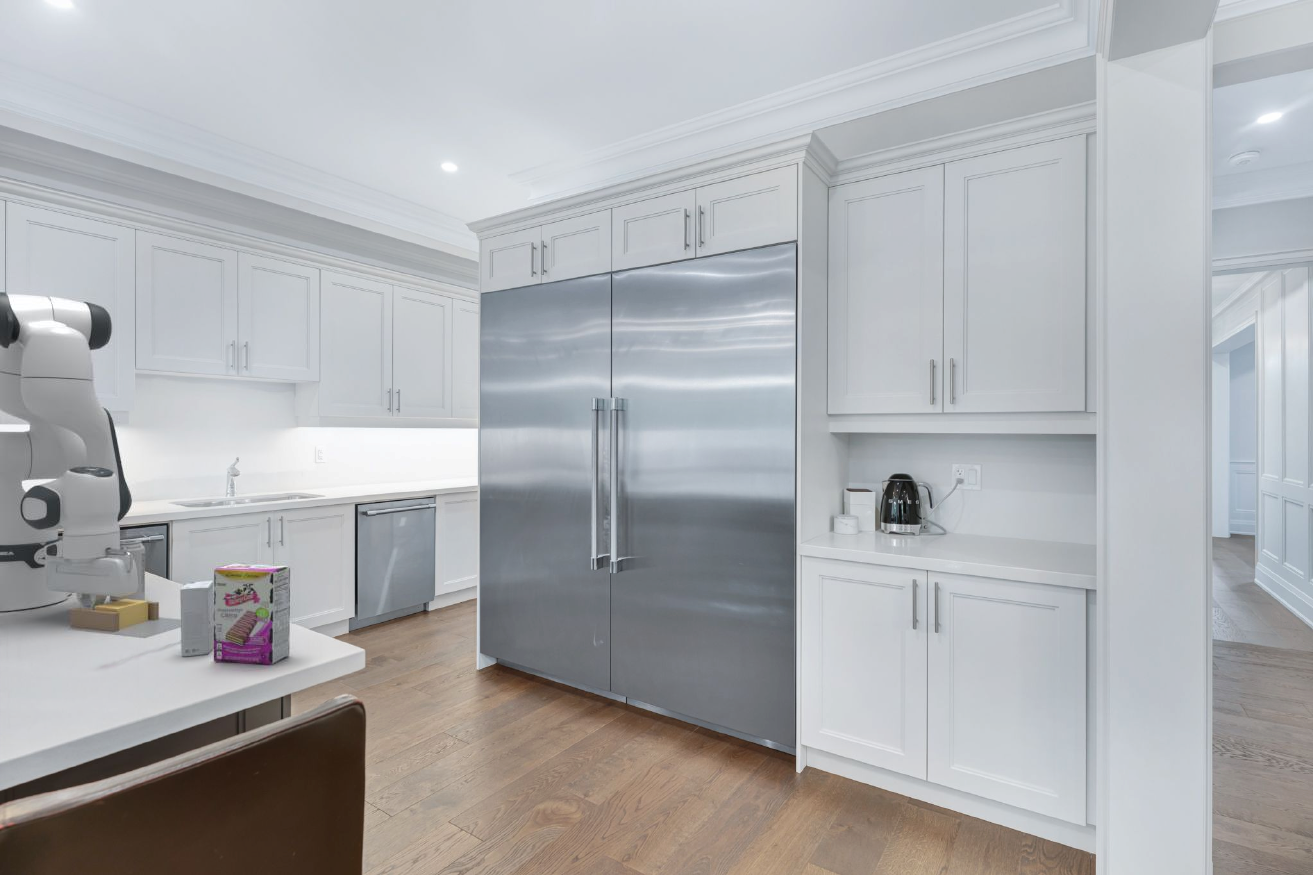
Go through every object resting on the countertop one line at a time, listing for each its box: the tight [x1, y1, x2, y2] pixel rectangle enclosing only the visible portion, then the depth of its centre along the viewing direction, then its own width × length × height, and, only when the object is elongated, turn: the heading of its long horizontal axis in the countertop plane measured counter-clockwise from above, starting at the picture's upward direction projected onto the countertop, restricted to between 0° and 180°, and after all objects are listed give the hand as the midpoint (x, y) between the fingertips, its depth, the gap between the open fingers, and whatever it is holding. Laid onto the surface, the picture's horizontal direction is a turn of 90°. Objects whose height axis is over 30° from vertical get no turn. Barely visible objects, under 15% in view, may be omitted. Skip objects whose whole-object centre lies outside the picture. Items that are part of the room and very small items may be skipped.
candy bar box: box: [213, 563, 291, 665], centre depth 114 cm, size 11×5×16 cm, turn 84°
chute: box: [65, 598, 181, 639], centre depth 130 cm, size 20×11×4 cm, turn 76°
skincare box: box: [180, 580, 214, 657], centre depth 118 cm, size 6×4×12 cm
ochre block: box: [94, 599, 148, 629], centre depth 130 cm, size 6×6×4 cm
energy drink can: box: [109, 539, 146, 603], centre depth 144 cm, size 6×6×15 cm
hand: (91, 614), depth 132 cm, fingers closed
